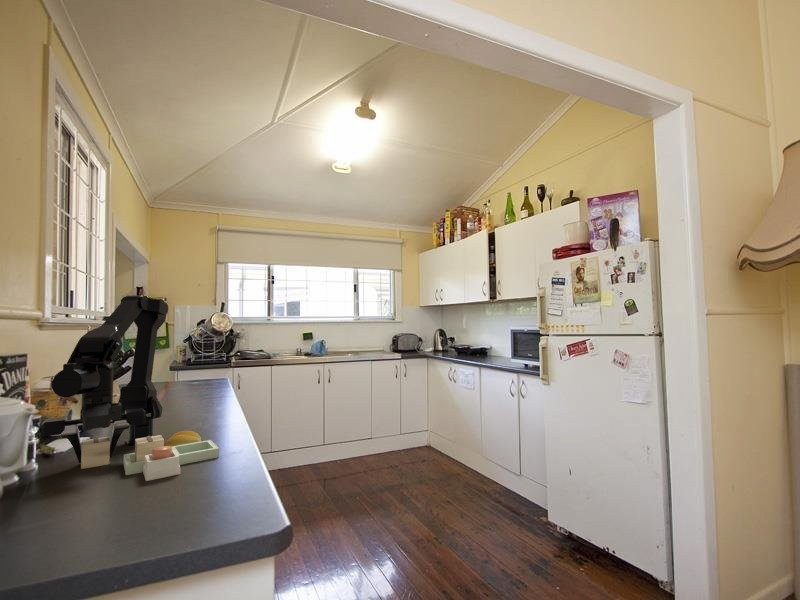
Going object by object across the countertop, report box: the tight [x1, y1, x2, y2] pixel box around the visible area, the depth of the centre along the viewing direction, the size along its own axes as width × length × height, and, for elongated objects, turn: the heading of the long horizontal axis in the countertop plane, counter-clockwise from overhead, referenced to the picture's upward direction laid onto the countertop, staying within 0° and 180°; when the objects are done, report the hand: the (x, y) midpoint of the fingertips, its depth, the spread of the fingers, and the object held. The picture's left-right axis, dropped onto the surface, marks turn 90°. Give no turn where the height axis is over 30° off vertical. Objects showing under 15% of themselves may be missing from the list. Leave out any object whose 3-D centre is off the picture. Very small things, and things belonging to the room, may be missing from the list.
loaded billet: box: [134, 434, 165, 462], centre depth 90 cm, size 5×5×6 cm
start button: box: [152, 446, 172, 461], centre depth 85 cm, size 4×4×2 cm
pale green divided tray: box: [122, 439, 220, 476], centre depth 93 cm, size 9×18×2 cm, turn 127°
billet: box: [80, 436, 111, 470], centre depth 91 cm, size 5×5×6 cm
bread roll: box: [164, 430, 202, 446], centre depth 104 cm, size 8×9×4 cm
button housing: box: [142, 450, 181, 482], centre depth 84 cm, size 6×6×4 cm
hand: (95, 460), depth 91 cm, fingers closed on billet, 5 cm apart
